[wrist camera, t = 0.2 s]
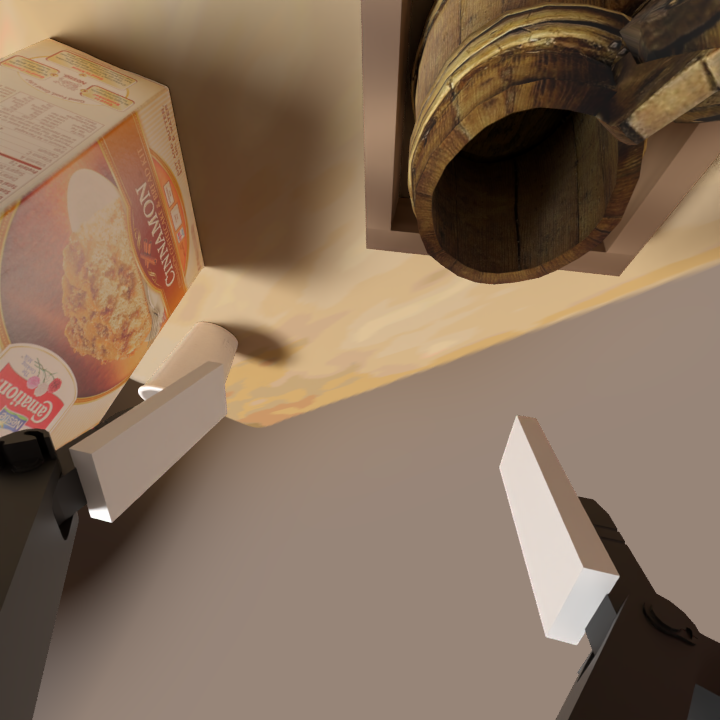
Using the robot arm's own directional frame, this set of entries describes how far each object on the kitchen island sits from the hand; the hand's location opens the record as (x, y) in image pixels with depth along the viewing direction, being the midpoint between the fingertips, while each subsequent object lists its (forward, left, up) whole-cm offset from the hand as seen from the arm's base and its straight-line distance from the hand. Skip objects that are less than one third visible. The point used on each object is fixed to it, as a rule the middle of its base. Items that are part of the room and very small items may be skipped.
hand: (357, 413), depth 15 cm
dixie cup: (+19, -22, -15) cm, 33 cm away
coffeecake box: (-1, -19, -15) cm, 25 cm away
